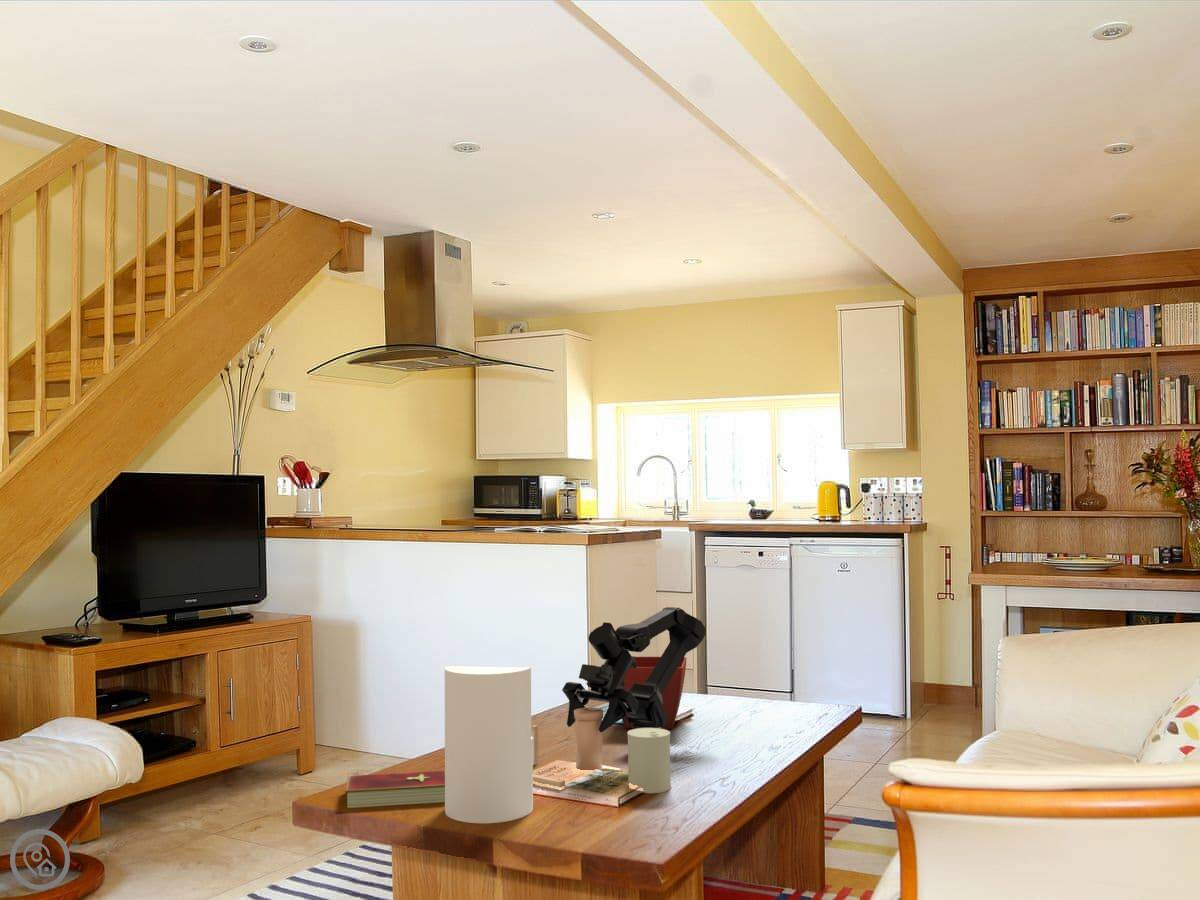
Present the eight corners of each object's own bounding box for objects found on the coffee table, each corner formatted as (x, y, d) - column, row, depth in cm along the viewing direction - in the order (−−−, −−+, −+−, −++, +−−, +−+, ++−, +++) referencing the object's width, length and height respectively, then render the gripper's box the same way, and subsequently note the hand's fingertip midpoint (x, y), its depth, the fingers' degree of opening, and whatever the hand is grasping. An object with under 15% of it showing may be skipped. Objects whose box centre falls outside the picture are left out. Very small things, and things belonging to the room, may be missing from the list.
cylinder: (521, 825, 196) (520, 675, 197) (433, 821, 199) (432, 673, 200) (541, 798, 213) (540, 660, 214) (459, 795, 216) (459, 659, 217)
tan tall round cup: (607, 766, 237) (606, 708, 237) (598, 773, 230) (598, 714, 231) (579, 764, 238) (579, 706, 239) (570, 771, 232) (570, 712, 233)
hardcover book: (348, 794, 219) (348, 773, 219) (449, 788, 223) (449, 768, 223) (345, 811, 207) (345, 789, 207) (451, 804, 211) (451, 783, 211)
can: (641, 796, 214) (640, 737, 215) (619, 785, 222) (619, 728, 223) (679, 789, 218) (678, 732, 219) (657, 779, 227) (656, 723, 227)
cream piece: (557, 757, 246) (557, 719, 246) (621, 770, 234) (621, 729, 235) (494, 777, 229) (494, 736, 229) (560, 792, 217) (559, 748, 218)
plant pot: (619, 716, 292) (618, 655, 292) (687, 717, 289) (686, 656, 290) (610, 731, 273) (609, 666, 273) (683, 733, 270) (682, 667, 271)
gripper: (566, 647, 244) (535, 702, 235) (630, 654, 233) (600, 712, 224) (588, 676, 250) (558, 730, 241) (651, 684, 239) (623, 742, 230)
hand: (583, 728), depth 234 cm, fingers open, 9 cm apart
